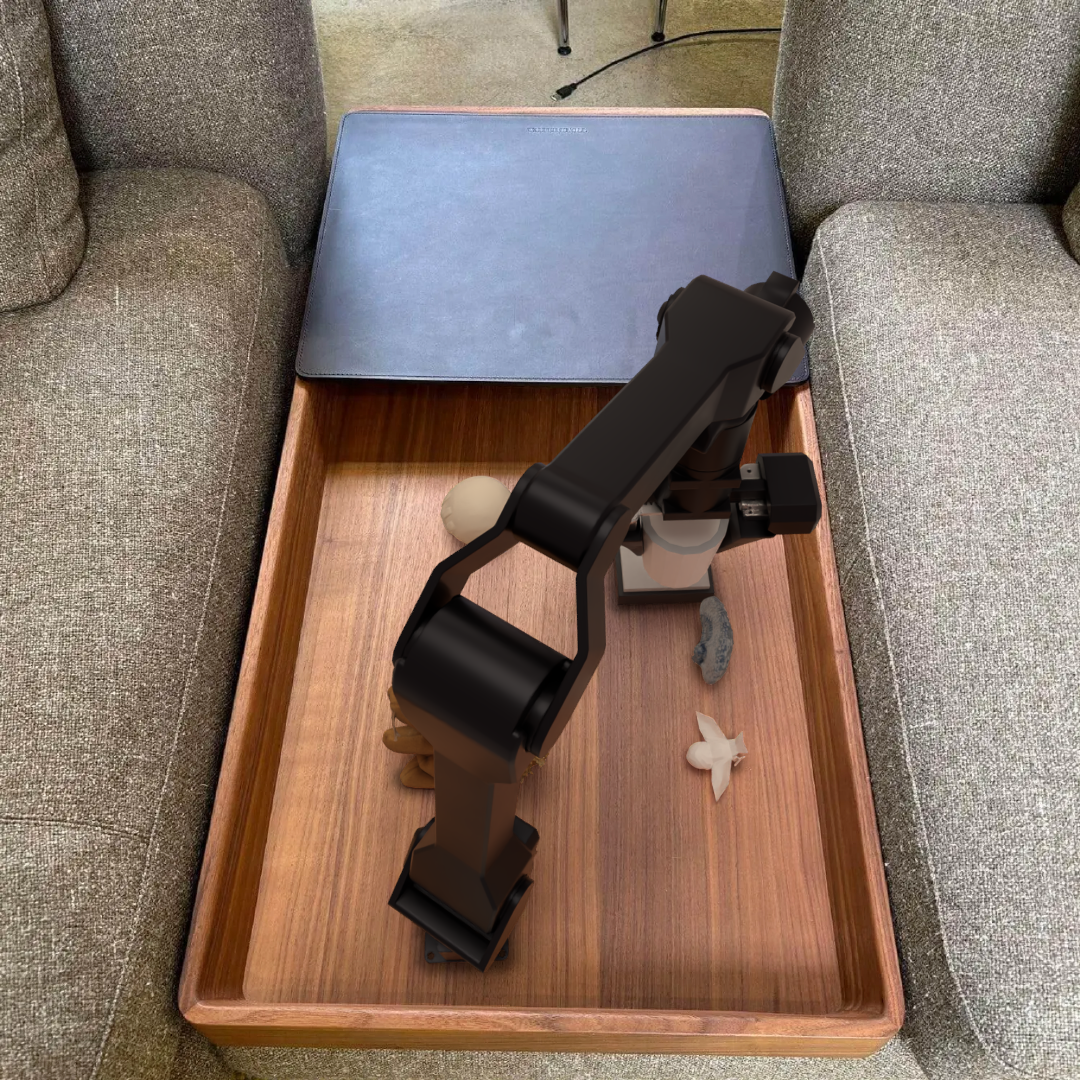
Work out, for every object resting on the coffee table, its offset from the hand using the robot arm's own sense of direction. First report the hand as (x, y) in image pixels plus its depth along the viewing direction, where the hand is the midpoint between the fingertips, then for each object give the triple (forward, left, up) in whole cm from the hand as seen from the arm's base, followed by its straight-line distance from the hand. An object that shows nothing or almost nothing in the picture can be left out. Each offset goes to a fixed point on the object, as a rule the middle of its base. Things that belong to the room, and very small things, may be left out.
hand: (676, 549), depth 74 cm
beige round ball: (+10, +17, -12) cm, 23 cm away
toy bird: (-14, -3, -12) cm, 19 cm away
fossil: (-4, -4, -12) cm, 13 cm away
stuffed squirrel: (-12, +18, -12) cm, 24 cm away
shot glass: (0, 0, -2) cm, 2 cm away
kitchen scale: (+9, 0, -11) cm, 15 cm away
